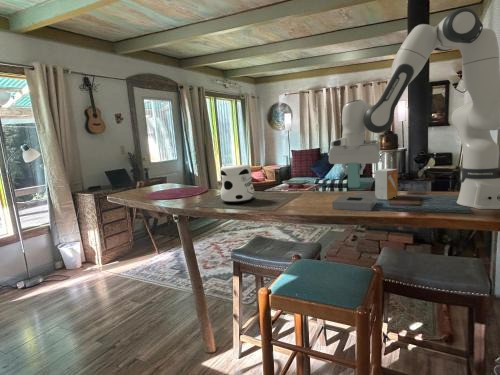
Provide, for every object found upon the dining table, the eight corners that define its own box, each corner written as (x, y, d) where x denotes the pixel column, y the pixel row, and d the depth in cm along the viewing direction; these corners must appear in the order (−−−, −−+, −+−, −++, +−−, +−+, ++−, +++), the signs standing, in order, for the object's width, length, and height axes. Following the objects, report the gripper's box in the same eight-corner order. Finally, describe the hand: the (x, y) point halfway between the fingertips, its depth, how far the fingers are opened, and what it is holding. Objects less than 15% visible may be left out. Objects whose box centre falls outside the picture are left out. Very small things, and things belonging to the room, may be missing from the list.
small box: (387, 200, 143) (387, 171, 141) (374, 198, 148) (374, 170, 146) (397, 197, 147) (397, 168, 145) (385, 195, 152) (385, 168, 150)
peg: (359, 185, 136) (359, 162, 134) (357, 187, 132) (357, 163, 131) (350, 185, 138) (349, 162, 136) (347, 187, 134) (347, 163, 133)
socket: (376, 202, 139) (376, 196, 138) (370, 210, 126) (370, 203, 126) (341, 201, 146) (341, 195, 146) (332, 209, 134) (332, 202, 133)
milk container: (260, 201, 160) (257, 165, 157) (227, 206, 153) (224, 169, 150) (247, 196, 175) (245, 163, 173) (217, 201, 169) (214, 167, 166)
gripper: (381, 139, 129) (381, 173, 132) (331, 141, 140) (331, 173, 142) (379, 140, 124) (379, 175, 126) (327, 142, 134) (327, 175, 136)
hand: (353, 174), depth 134 cm, fingers closed on peg, 4 cm apart
